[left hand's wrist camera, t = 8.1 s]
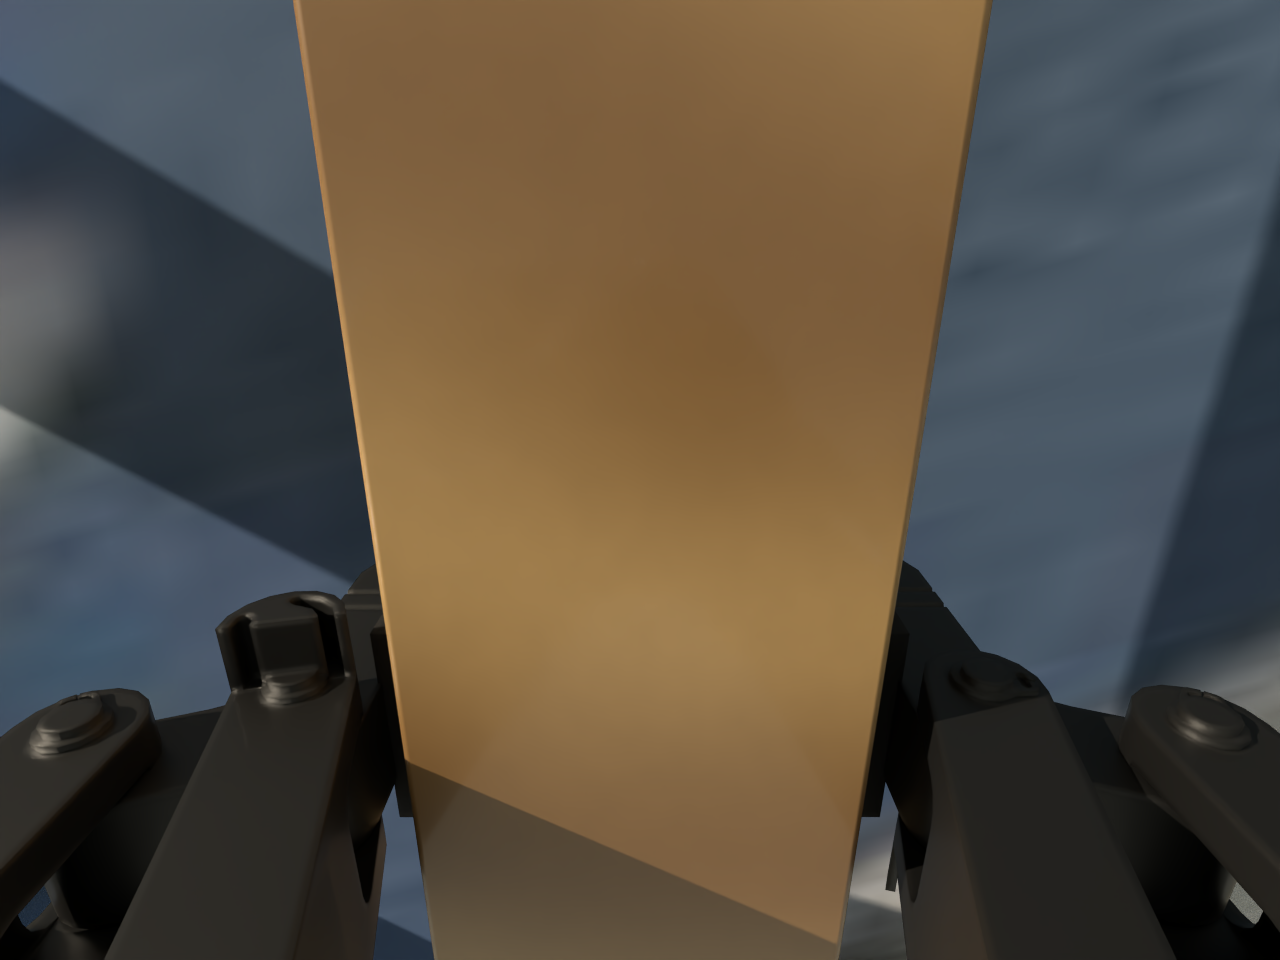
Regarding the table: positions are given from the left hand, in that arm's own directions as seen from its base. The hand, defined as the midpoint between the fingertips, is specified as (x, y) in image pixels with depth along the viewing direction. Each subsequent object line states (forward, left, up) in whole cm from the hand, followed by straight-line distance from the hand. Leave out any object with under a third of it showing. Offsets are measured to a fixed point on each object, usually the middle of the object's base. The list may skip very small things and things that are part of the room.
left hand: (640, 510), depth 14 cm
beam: (+9, +26, -1) cm, 28 cm away
